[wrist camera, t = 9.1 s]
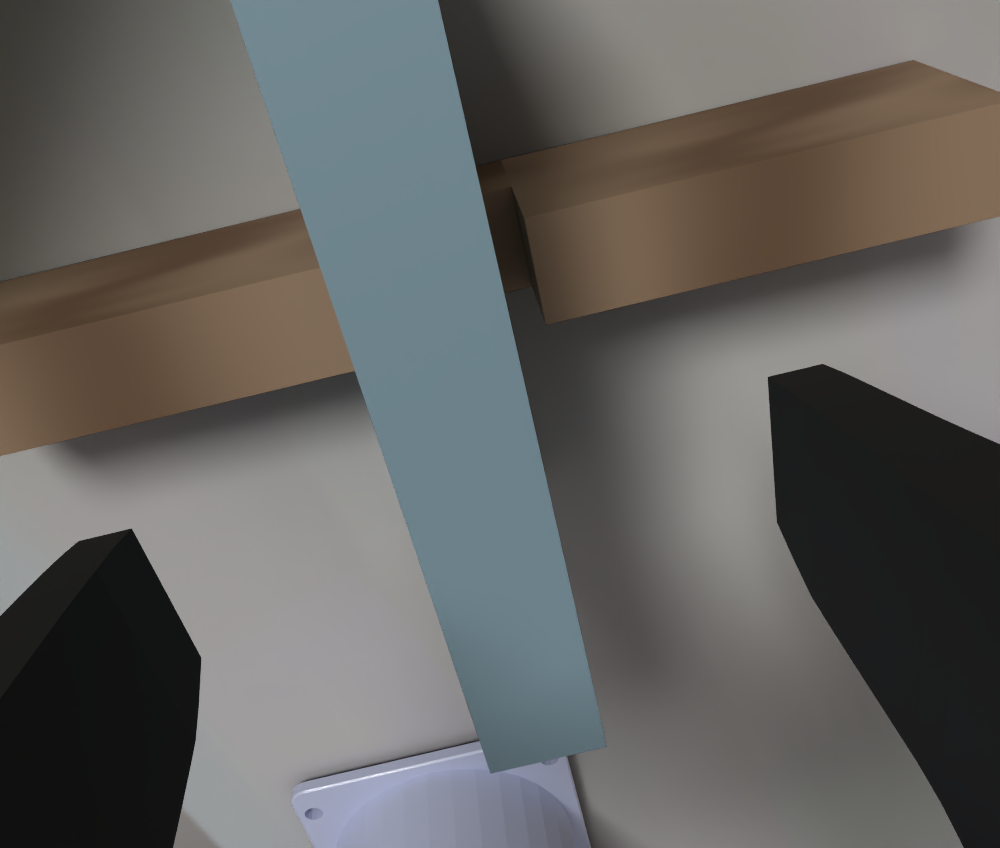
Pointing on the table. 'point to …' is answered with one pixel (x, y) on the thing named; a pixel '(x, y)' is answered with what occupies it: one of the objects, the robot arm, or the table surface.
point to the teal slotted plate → (431, 348)
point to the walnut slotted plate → (512, 246)
